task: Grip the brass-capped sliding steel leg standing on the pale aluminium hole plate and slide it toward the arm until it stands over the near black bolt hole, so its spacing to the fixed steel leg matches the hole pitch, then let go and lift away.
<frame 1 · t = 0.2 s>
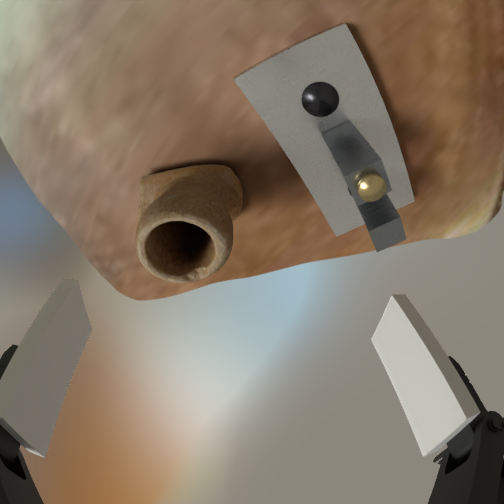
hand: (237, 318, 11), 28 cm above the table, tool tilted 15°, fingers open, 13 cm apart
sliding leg: (355, 161, 28), point 7 cm above the table, slide at 6.0 cm
hole plate: (341, 140, 34), on the table
stone cup: (187, 186, 39), on the table
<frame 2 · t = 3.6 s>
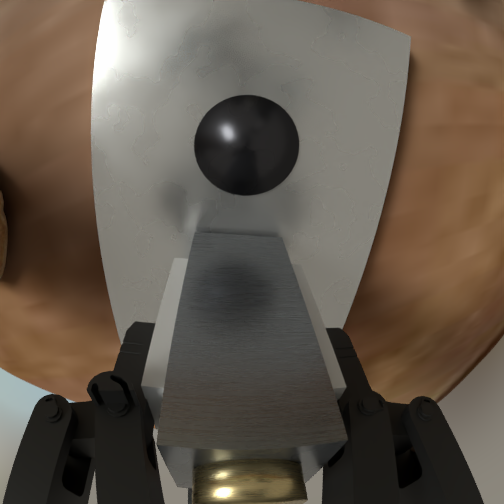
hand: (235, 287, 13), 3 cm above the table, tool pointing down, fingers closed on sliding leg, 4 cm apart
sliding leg: (239, 356, 10), point 7 cm above the table, slide at 6.0 cm, touching gripper
hole plate: (233, 269, 16), on the table
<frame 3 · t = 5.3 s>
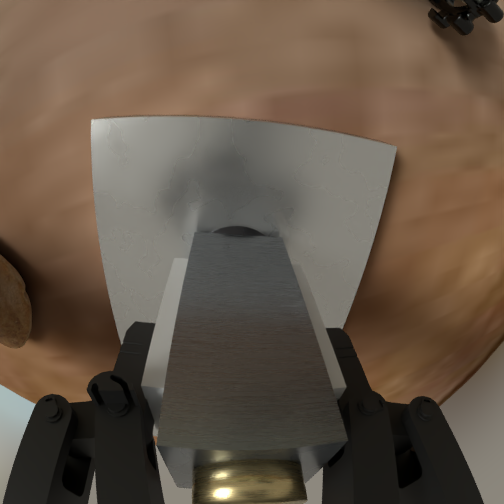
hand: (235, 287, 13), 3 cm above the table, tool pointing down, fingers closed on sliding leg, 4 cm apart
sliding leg: (239, 356, 10), point 7 cm above the table, slide at 0.1 cm, touching gripper
hole plate: (227, 341, 19), on the table
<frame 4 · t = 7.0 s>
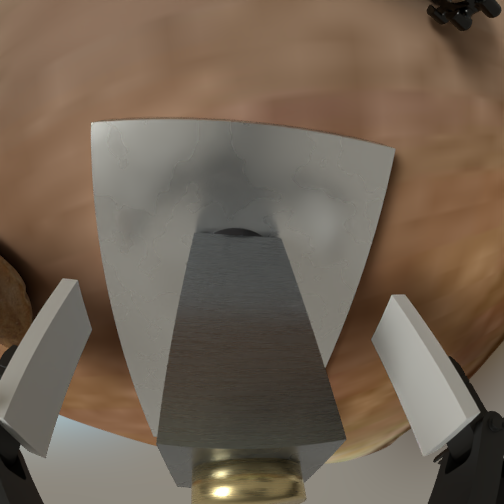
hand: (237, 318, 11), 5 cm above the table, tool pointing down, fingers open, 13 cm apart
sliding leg: (238, 356, 10), point 7 cm above the table, slide at 0.0 cm
hole plate: (227, 342, 19), on the table
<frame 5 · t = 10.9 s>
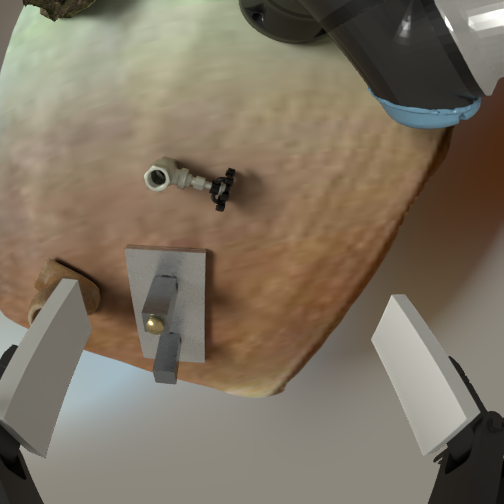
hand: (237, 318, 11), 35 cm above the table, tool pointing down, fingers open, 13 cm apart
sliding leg: (160, 305, 45), point 7 cm above the table, slide at 0.0 cm
valve: (191, 174, 43), on the table
hole plate: (169, 309, 55), on the table
stone cup: (71, 279, 50), on the table
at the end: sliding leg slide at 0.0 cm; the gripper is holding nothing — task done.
